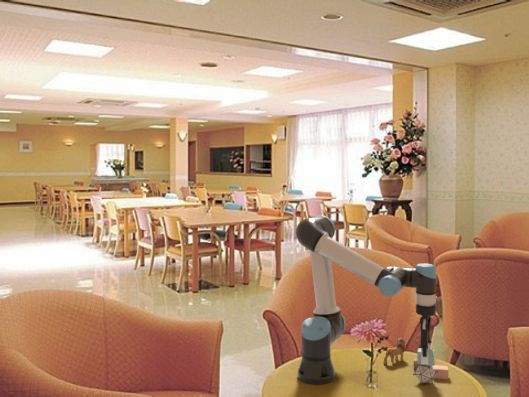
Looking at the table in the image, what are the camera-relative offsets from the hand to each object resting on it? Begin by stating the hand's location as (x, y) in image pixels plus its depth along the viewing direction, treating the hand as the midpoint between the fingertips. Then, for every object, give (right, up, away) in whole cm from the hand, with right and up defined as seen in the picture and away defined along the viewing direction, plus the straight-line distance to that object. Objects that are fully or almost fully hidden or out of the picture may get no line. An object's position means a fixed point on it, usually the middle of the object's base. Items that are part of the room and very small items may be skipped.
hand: (425, 361), depth 208 cm
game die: (0, -9, +1) cm, 9 cm away
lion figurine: (-7, -7, +23) cm, 25 cm away
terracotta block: (+8, -8, +6) cm, 13 cm away
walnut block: (+4, -8, +14) cm, 17 cm away
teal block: (0, -1, 0) cm, 1 cm away
